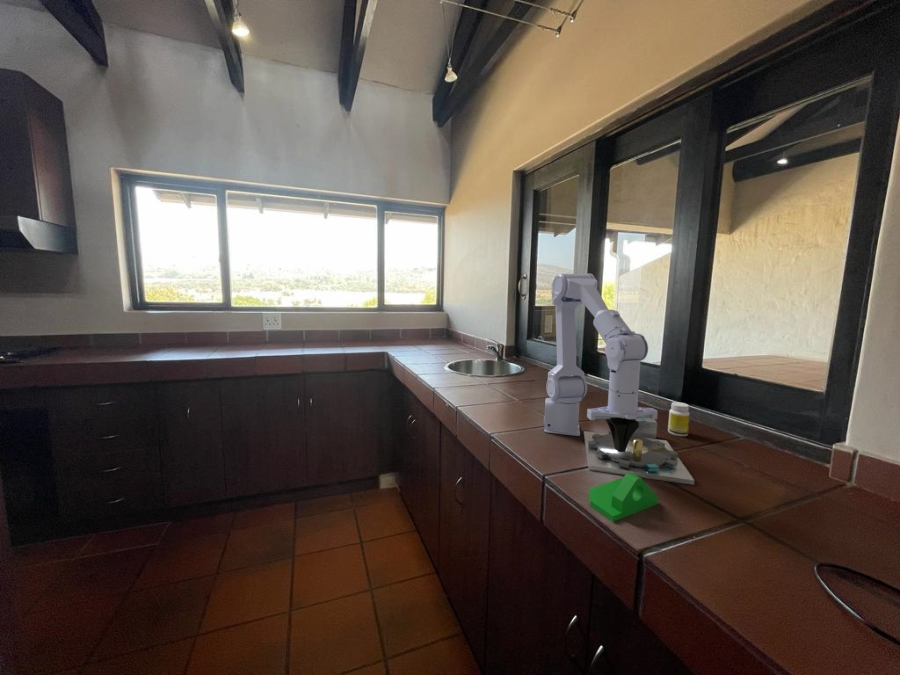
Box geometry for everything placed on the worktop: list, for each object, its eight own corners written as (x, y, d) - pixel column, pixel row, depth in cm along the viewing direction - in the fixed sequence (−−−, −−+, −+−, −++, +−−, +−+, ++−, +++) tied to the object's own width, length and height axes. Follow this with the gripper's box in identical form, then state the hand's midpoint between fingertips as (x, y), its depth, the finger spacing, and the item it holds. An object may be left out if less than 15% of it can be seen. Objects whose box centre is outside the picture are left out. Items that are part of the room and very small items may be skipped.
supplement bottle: (691, 437, 93) (693, 407, 92) (671, 436, 94) (674, 406, 93) (683, 430, 98) (685, 402, 97) (664, 429, 99) (667, 401, 98)
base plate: (588, 469, 76) (589, 465, 76) (583, 434, 95) (583, 430, 95) (694, 485, 70) (694, 480, 70) (666, 444, 89) (666, 440, 89)
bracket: (621, 484, 71) (623, 453, 70) (657, 505, 64) (660, 471, 63) (578, 499, 66) (579, 465, 65) (612, 523, 59) (615, 486, 58)
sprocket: (591, 463, 77) (592, 440, 76) (585, 431, 94) (586, 412, 94) (690, 477, 71) (692, 452, 70) (665, 440, 88) (666, 420, 88)
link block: (630, 438, 93) (631, 419, 93) (628, 433, 97) (629, 415, 96) (655, 440, 91) (657, 422, 91) (652, 435, 95) (653, 417, 94)
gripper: (598, 396, 70) (595, 459, 72) (668, 395, 70) (663, 458, 72) (584, 386, 77) (581, 444, 79) (647, 385, 77) (643, 443, 79)
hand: (619, 450), depth 76 cm, fingers closed
